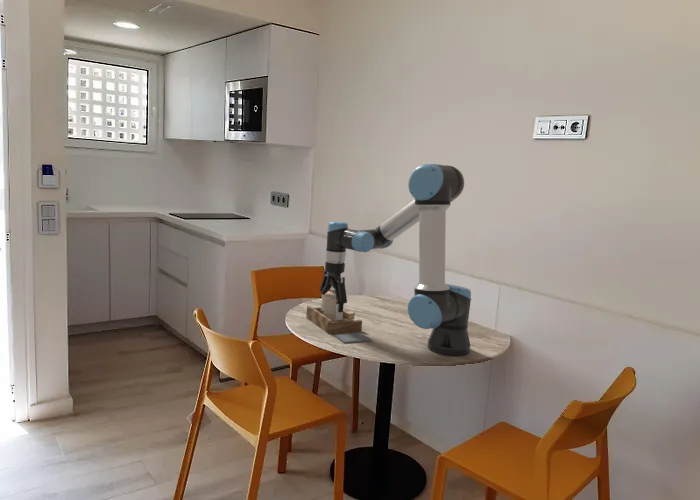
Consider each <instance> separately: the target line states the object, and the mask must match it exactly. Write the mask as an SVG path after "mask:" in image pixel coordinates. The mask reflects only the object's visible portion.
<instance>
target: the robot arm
mask: <svg viewBox="0 0 700 500" xmlns="http://www.w3.org/2000/svg"><path fill="white" fill-rule="evenodd" d="M407 185H408V186H407V187H408V191H409V193H410V194H411V196H412V197H413V198H414V199H413V200H411V201H410V202H408V203H407V204H406V205H404V206H403V207H402V208H401V209H399V210H397V212H395V213H394V214H393V215H392V216H390V217H389V218H387V220H385V221H384V222H383V223H381V224H380V225H378V226H377V227H376V228H374V229H373V228H372V229H362V230H356V229H350V228H349V227H348V226H349V225H348V223H347V222H344V221H338V220H337V221H336V220H335V221H330V222H329V223H328V225H327V232H326V234H327V235H326V236H327V237H326V249H325V250H326V251H325V264H324V265H325V266H324V271H323V277H322V281H321V284H320V286H319V292H320V293H321V303H320V304H321V305H320V307H321V311H324V299H325V293H326V292H328V291H329V290H332V289H331V288H333V290H335V293H336V298H337V303H336V316H335V320H342V319H343V309H344V306H345V305H344V304H347V303H348V298H347V291H346V284H345V282H346V281H345V280H346V278H345V276H341V274H343V273H344V272H345V266H346V263H345V262H346V256H347V253H346V252H347V250H351V251H355V252H358V253H369V252H370V251H371V250H378V249H381V250H383V249H385V248H389V247H390V246H391V245H393V242H394V240H395V239H396V238H398V237H399V236H401V235H402V234H403V233H405V232H406V231H408V230H409V229H410V228H412V227H413V226H415V225H416V224H417V223H419V224H418V225H419V226H418V227H419V228H418V229H419V232H418V235H419V236H418V237H419V241H418V244H419V245H418V248H419V249H418V257H419V258H418V259H419V261H418V283H416V284H415V286H414V295H413V296H412V297H411V299H409V301H408V304H407V314H408V317H409V319H410V321H412V322H413V324H414V325H415V326H416V327H419V328H421V329H424V330H428V329H431V333H430V335H429V338H428V339H427V345H426V346H427V348H428V349H429V350H430V351H432V352H434V353H437V354H442V355H444V356H445V355H446V356H447V355H448V356H456V357H457V356H466V355H468V354H470V353H471V342H470V337H469V332H468V331H469V330H468V326H469V325H468V324H469V318H470V308H471V301H472V297H471V296H472V292H471V290H470V289H469V288H467V287H464V286H460V285H455V284H448V283H446V223H447V221H446V220H447V219H446V217H447V216H446V215H447V214H446V212H447V210H448V209H449V208H450V207H451V203H452V202H453V201H455V200H456V199H458V197H460V195H461V194H462V192H463V191H464V188H465V178H464V175H463V174H462V172H461V170H459V169H458V168H457V167H455V166H453V165H446V164H445V165H444V164H436V163H427V164H420V165H419V166H417V167H416V168H414V170H413V171H412V172H411V173H410V176H409V179H408V184H407Z"/></svg>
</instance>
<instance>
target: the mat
mask: <svg viewBox="0 0 700 500" xmlns="http://www.w3.org/2000/svg"><path fill="white" fill-rule="evenodd" d="M334 337H335V338H336V339H337V340H338V341H340V342H342V343H343V344H353V343H363V342H372V341H373V340H372V338H370V337H369V336H367V335H366V334H364V333H362V332H357V333H356V332H353V333H343V334H342V333H341V334H334Z"/></svg>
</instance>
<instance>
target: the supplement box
mask: <svg viewBox="0 0 700 500" xmlns="http://www.w3.org/2000/svg"><path fill="white" fill-rule="evenodd" d="M336 303H337V298H336V293H335V289H330V290H329V291H328V292H326V293H325V299H324V313H323V315H325V316H326V317H328V318H329V319H331V320H332V322H338V320H335V316H336Z"/></svg>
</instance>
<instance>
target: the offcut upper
mask: <svg viewBox="0 0 700 500" xmlns="http://www.w3.org/2000/svg"><path fill="white" fill-rule="evenodd" d="M355 314H356V312H353V311H350V310H349V309H345V308H343V318H345V319H347V320H352V319H353V320H355Z"/></svg>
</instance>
